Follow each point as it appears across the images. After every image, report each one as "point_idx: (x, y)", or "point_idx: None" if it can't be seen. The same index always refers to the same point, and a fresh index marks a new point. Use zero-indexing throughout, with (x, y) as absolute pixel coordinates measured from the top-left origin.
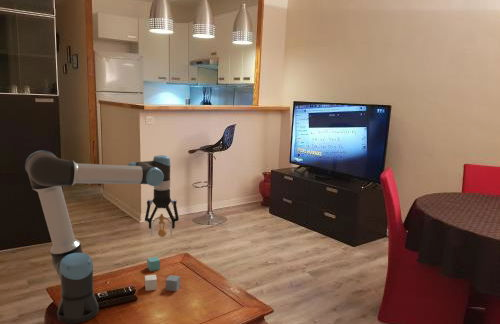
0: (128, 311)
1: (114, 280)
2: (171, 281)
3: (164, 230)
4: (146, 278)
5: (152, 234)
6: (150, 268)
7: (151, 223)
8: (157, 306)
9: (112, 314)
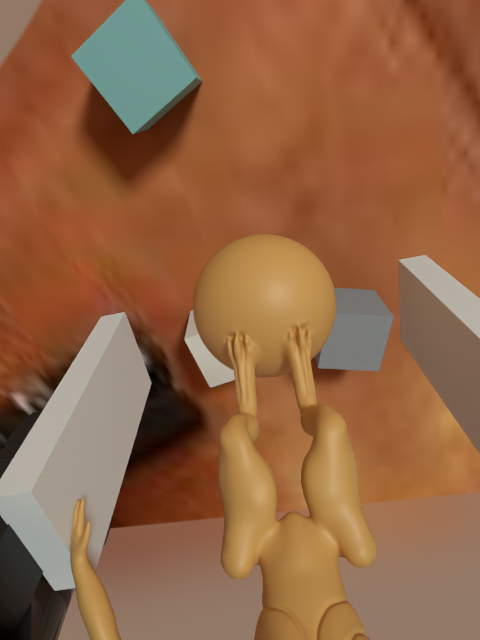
0: (207, 484)
1: (3, 282)
2: (349, 366)
3: (315, 350)
4: (206, 367)
5: (143, 398)
6: (144, 129)
7: (69, 573)
8: (302, 449)
9: (161, 503)
